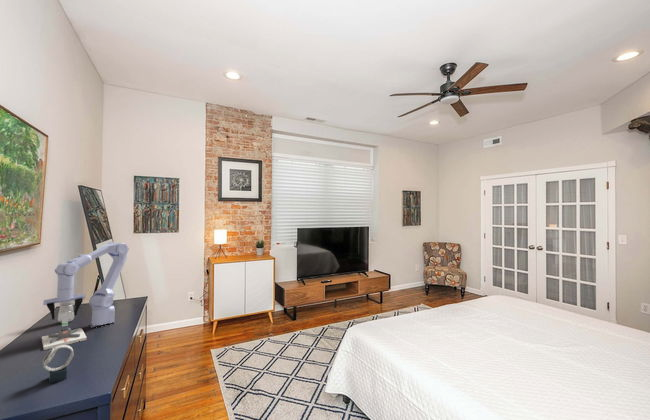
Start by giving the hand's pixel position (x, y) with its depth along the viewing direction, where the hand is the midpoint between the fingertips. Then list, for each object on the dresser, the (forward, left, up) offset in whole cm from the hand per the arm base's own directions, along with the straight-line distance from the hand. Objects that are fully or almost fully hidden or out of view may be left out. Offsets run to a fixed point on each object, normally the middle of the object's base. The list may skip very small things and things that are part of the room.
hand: (64, 316), depth 131 cm
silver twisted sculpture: (-3, -26, -10) cm, 28 cm away
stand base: (0, +3, -10) cm, 10 cm away
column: (0, +3, -3) cm, 5 cm away
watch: (+5, +44, -10) cm, 46 cm away
